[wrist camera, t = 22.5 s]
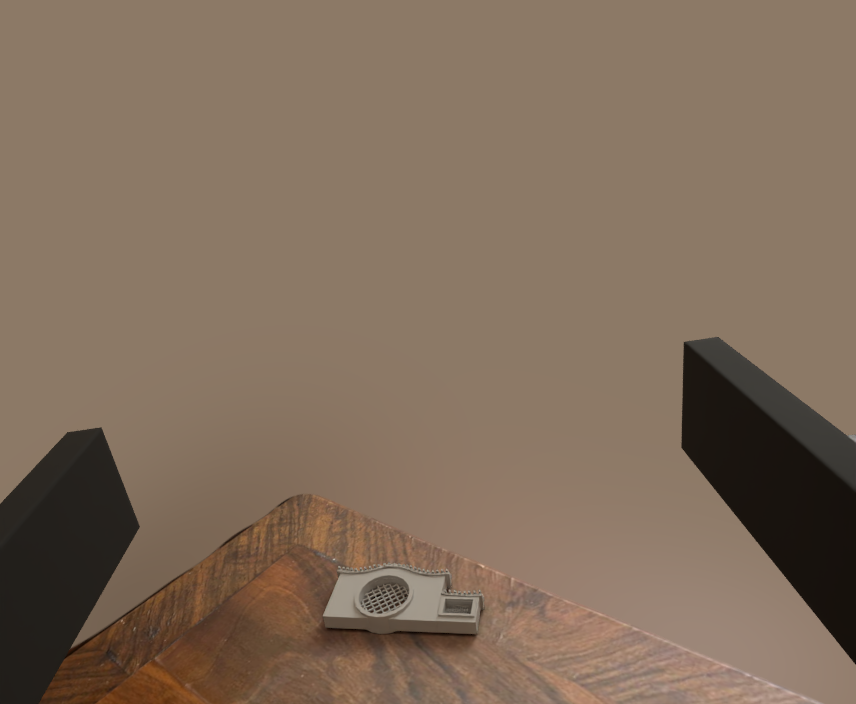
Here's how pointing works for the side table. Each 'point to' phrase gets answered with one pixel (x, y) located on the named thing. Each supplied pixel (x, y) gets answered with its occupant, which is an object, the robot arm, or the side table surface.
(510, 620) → the side table surface
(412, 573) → the lattice window wall
